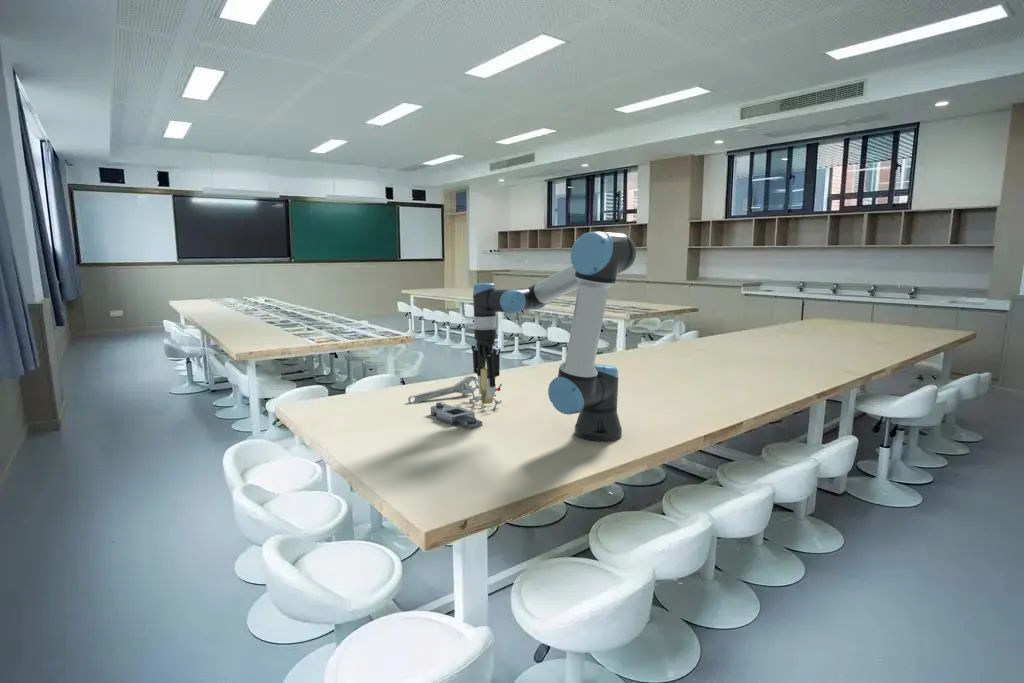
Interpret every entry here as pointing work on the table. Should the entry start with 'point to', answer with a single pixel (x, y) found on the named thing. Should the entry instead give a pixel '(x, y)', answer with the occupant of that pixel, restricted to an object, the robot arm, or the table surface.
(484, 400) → the pin
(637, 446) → the table surface
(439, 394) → the wrench
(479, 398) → the molecular model
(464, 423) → the link plate
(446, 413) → the link plate
